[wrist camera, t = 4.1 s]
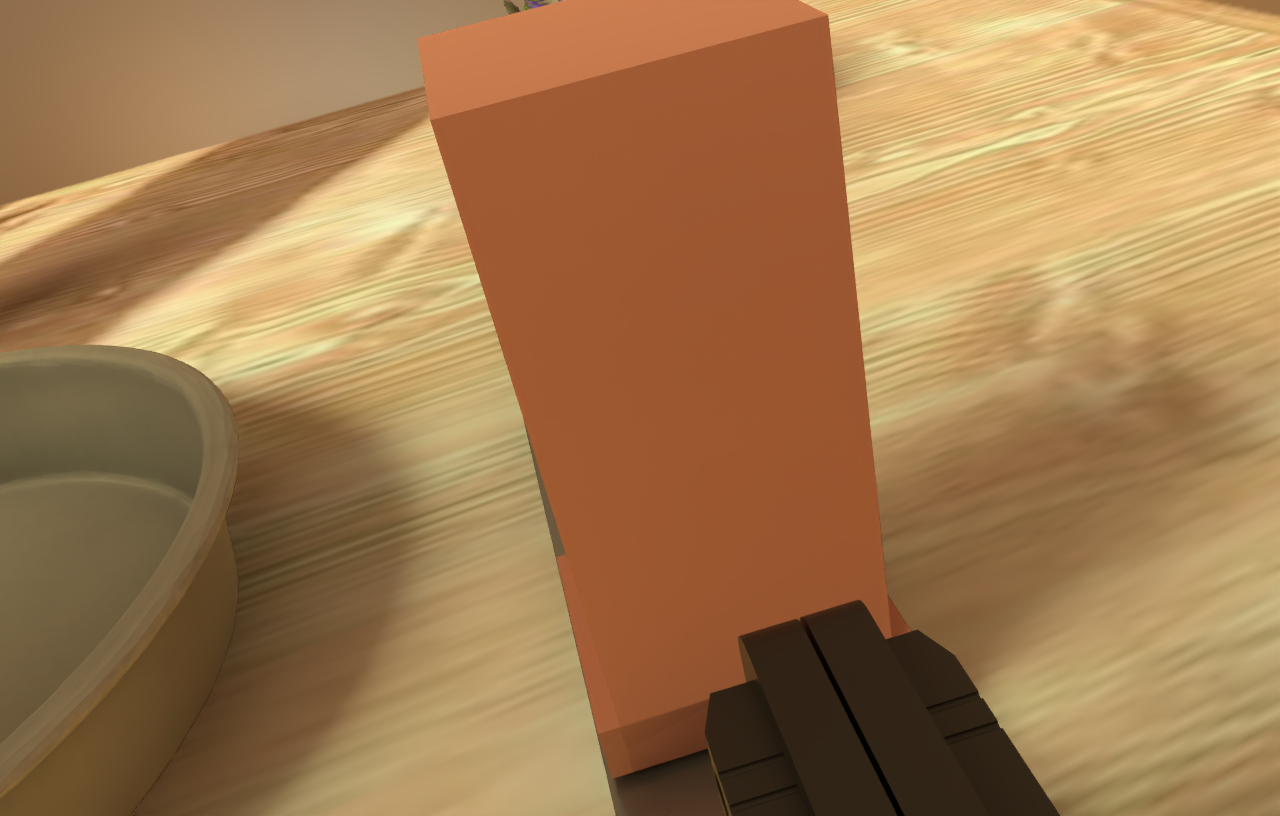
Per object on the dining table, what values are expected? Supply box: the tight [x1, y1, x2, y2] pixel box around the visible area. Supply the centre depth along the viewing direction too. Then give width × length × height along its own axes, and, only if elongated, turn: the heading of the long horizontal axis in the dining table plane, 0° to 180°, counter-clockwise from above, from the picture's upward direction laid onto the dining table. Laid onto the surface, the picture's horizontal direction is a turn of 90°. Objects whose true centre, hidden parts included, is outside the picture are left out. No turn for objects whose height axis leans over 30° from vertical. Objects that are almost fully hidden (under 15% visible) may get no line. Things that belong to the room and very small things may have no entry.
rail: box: [523, 418, 725, 816], centre depth 28 cm, size 6×31×8 cm, turn 13°
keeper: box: [417, 0, 911, 779], centre depth 18 cm, size 6×5×12 cm
